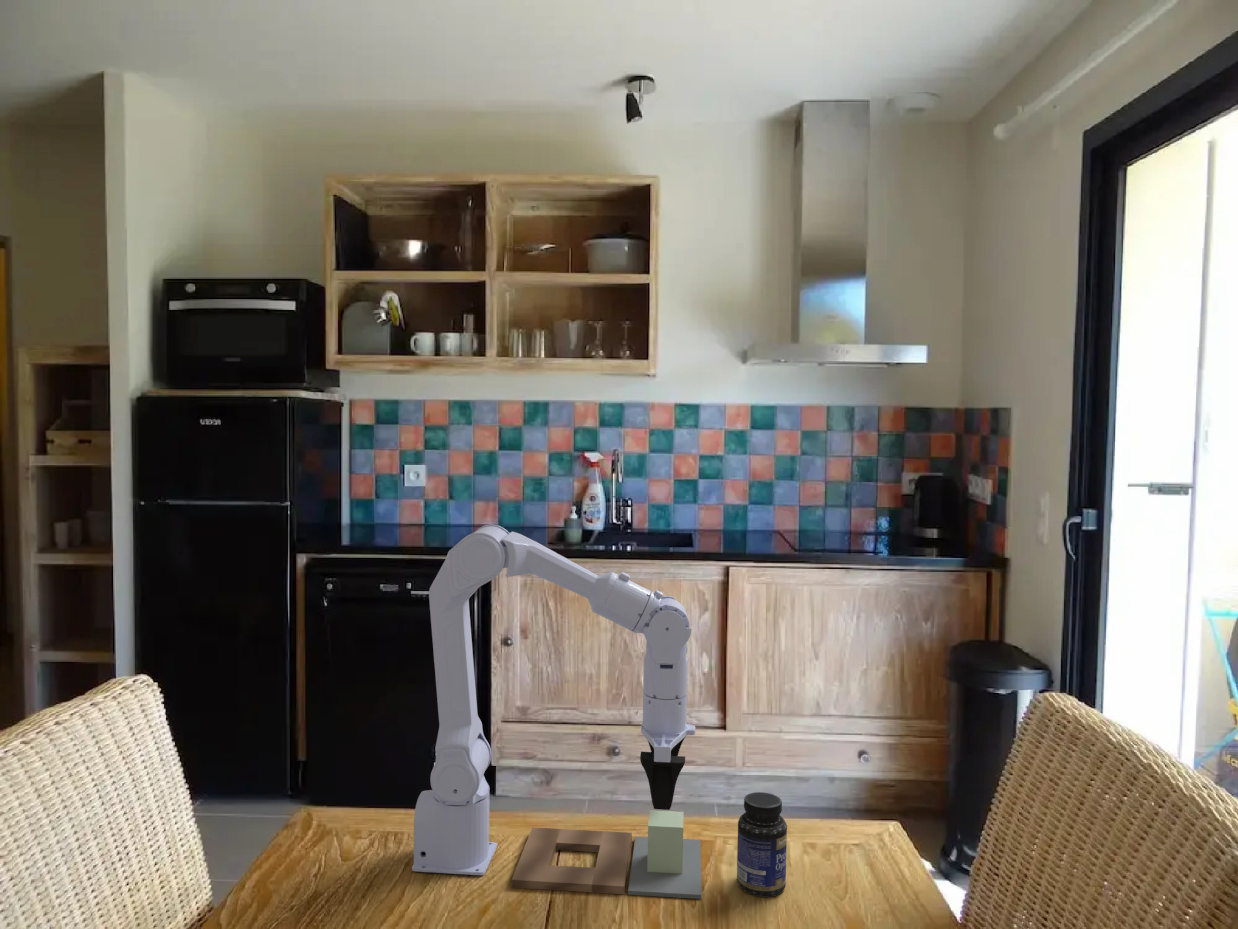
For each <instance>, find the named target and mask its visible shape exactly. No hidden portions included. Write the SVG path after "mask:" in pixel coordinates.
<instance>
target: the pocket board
mask: <svg viewBox="0 0 1238 929" xmlns="http://www.w3.org/2000/svg"><path fill="white" fill-rule="evenodd" d="M632 841H633V833H632V832H626V831H625V832H623V831H605V830H589V829H587V830H586V829H567V828H554V827H553V828H551V827H550V828H549V827H531V830H530V832H529V835H528V838H527V840H526V843H525V845H524V848H523V850H522V853H521V854H520V858H519V860H518V863H517V866H516V868H515V870H514V873H513V875H512V878H511V888H513V889H514V888H515V889H529V890H546V891H549V890H551V891H564V892H566V891H567V892H580V893H582V892H583V893H585V892H586V893H594V894H595V893H599V894H614V895H615V894H616V895H624V894H625V892H626V891H625V889H626V882H627V876H628V871H629V870H628V869H629V862H630V856H631V855H630V854H631V848H632V847H631V846H632ZM556 851H571V852H585V853H586V852H587V853H598V854H597V859H596V863H595V866H594V867H589V866H587V867H586V866H585V867H584V866H570V865H569V866H567V865H556V864H555V865H553V861H554V859H555V858H554V857H555V855H556V853H557V852H556Z"/></svg>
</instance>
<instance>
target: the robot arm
mask: <svg viewBox="0 0 1238 929" xmlns="http://www.w3.org/2000/svg"><path fill="white" fill-rule="evenodd" d="M503 569H507V571H506V577H508V578H509V577H518V576H523V575H528V574H529V575H534V576H537V577H539V578H540V579H543V580H545V581H549V582H550V583H553V584H554V585H557V586H559V587H561V588H563V589H566V590H568V591H570V592H572V593H575V594H577V595H579V596H582V597H583V598H586V599H587V600H588V603H589V605H590V606H589V607H590V609H591V611H592V613H594V614H596V615H598V616H601V617H603V618H604V619H606V620H608V621H611V622H612V623H615V624H617V625H619V626H621V627H622V628H625V629H627V630H629V631H631V632H632V633H635V634H643V635H644V638H645V640H646V644H645V645H646V650H645V651H646V653H645V655H644V657H643V690H642V691H643V692H642V693H643V694H642V723H641V725H640V732H641V734H642V735H643V737H644V738H645V739H646V741H647V743H648V745H649V749H650V751H641V752H640V756H639V757H640V758H639V760H640V761H639V762H640V763H641V767H642V768H643V770H644V772H645V774H646V777H647V781H648V785H649V792H650V798H651V803H652V807H653V809H654V810H659V811H671V808H672V804H673V801H674V795H675V790H676V789H675V788H676V785H677V781H678V778H679V776H680V773H681V771H682V769H683V767H684V765H685V763H686V756H684V755H683V756H682V755H679V752H680V749H681V746H682V744H683V742H684V740H685V739H686V737H687V736H695V735H696V726H695V725H694V724H687V723H688V722H687V719H688V718H687V715H688V682H689V680H688V679H689V678H688V676H689V674H688V673H689V672H688V671H689V669H688V668H689V659H688V657H687V654H688V642H689V639H690V637H691V634H692V628H690V627H691V626H690V621H689V617H688V613H687V610H686V608H685V607H684V606H683V605H682V603H680V602H679V601H677V600H676V599H675V598H674V596H670V595H664V593H663V592H662V591H659V590H657V589H656V590H655V591H652V590H650V589H648V588H646V587H644V586H642V585H639V584H637V583H636V582H634V581H632V580H630V579H631V575H630V574H628V573H626V572H624V571H621V572H620V574H617V573H616V572H614V571H611V572H609V571H608V572H607V573H604V574H601V575H600V574H599V575H597V574H596V573H594V572H592V571H591V570H588V569H587V568H585V567H583V566H581V565H580V564H577V563H575V561H572V560H570V559H569V558H567V557H565V556H563V555H561V554H559V553H557V552H556V551H554V550H552V549H550V548H548V547H546V546H545V545H543V544H541V543H539V542H537V541H536V540H534V539H531V538H529V537H527V536H525V535H523V534H521V533H518V532H517V531H511V532H509V531H508V530H507V529H505V528H504V527H502V526H500V525H498V524H485V525H483V526H480V527H479V528H477V529H476V530H475V531H473V532H472V533H470V534H468V535H466V536H464V537H463V538H462V539H460V541H459V542H457V543H456V544H455V545H454V546H453V547H452V548H451V549H449V550H448V552H447V555H446V558H445V560H444V562H443V563H442V565H441V567H440V569H439V571H438V572H437V574H436V577H435V578H434V579H433V582H432V583H431V585H430V587H429V592H428V593H429V594H428V600H429V611H430V624H431V637H432V639H431V640H432V648H433V652H432V653H433V662H434V672H435V687H436V698H437V700H436V701H437V712H438V722H439V725H438V726H439V728H438V732H437V738H436V742H435V762H434V765H433V767H432V770H431V773H430V778H429V779H430V781H429V782H430V786H431V789H429V790H422V791H421V792H420V794H419V795H418V798H417V801H416V804H415V809H414V816H413V817H414V818H413V865H412V866H411V871H412V872H420V873H435V874H436V873H437V874H450V875H452V874H454V875H466V876H467V875H470V876H484V875H485V873H486V872H487V869H488V868H489V866H490V863H491V861H492V859H493V857H494V854H495V853H496V850H497V848H498V843H497V842H494V841H490V785H489V783H488V782H487V780H486V778H485V775H484V774H485V773H486V772H485V771H486V770H487V769H488V767H489V766H490V764H491V761H492V755H493V754H492V749H491V745H490V744H489V742H488V740H487V739H486V737H485V734H484V730H483V723H482V721H481V719H480V717H479V714H478V703H477V701H478V700H477V690H476V678H475V665H474V654H473V650H474V649H473V641H472V627H471V626H472V625H471V616H470V615H471V614H470V598H471V597H472V595H474V593H475V592H476V591H477V590H478V589H479V588H481V586H483V585H485V584H487V583H489V582H491V581H492V580H494V579H496V578H497V577H498V576H499V575H500V573H501V572H502V571H503Z"/></svg>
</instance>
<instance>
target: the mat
mask: <svg viewBox="0 0 1238 929" xmlns="http://www.w3.org/2000/svg"><path fill="white" fill-rule="evenodd" d="M701 846H702V845H701V839H692V838H691V839H688V838H687V839H686V838H683V873H682V874H679V873H662V872H647V859H648V836H635V839H634V844H633V852H632V859H631V867H630V874H629V875H630V876H629V880H628V886H627V887H628V888H627V895H629V896H647V897H660V898H662V897H664V898H665V897H666V898H682V899H695V900H696V899H697V900H698V899H699V900H700V899H701V900H702V898H703V897H702V896H703V895H702V894H703V893H702V855H701V854H702V851H701V850H702V849H701V848H702V847H701Z"/></svg>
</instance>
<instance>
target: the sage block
mask: <svg viewBox="0 0 1238 929" xmlns="http://www.w3.org/2000/svg"><path fill="white" fill-rule="evenodd" d="M684 812H685V811H672V810H656V809H654V810H651V809H650V810H649V813H648V814H649V815H648V822H647V837H648V859H647V872H662V873H679V874H682V873H683V839H684V814H685V813H684Z"/></svg>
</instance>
